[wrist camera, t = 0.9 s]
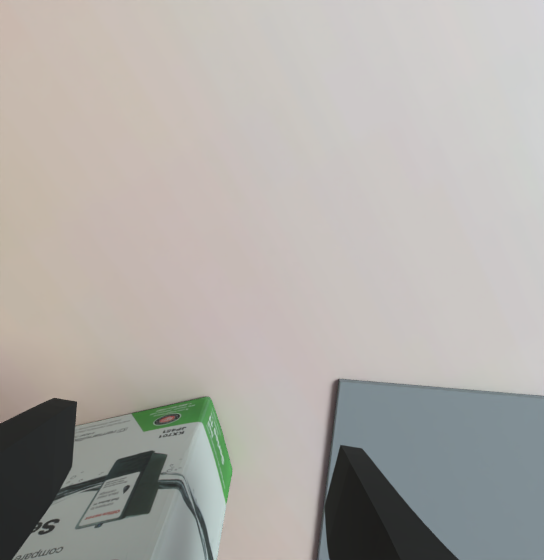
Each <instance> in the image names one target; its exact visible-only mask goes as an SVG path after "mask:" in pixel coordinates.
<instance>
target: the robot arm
mask: <svg viewBox="0 0 544 560" xmlns="http://www.w3.org/2000/svg"><path fill="white" fill-rule="evenodd" d="M76 408H77V402H75V401H69V400H63V399H57V398H53V399H51V400H48V401H46V402H44V403H42V404H39V405H37V406H35V407H33V408H31V409H29V410H27V411H25V412H23V413H21V414H19V415H17V416H15V417H13V418H11V419H9V420H7V421H5V422H3V423H1V424H0V560H12V559H13V558H14V556H15V555H16V554H17V552H18V551H19V549H20V548H21V547H22V545H23V544H24V543H25V541H26V540H27V538H28V537H29V536H30V534H31V533H32V531H33V530H34V528H35V527H36V526H37V524H38V523H39V521H40V520H41V519H42V517H43V516H44V514H45V513H46V511H47V510H48V509H49V507H50V506H51V504H52V503H53V501H54V499H55V497H56V495H57V494H58V492H59V490H60V488H61V487H62V485H63V483H64V481H65V479H66V477H67V476H68V474H69V472H70V470H71V468H72V463H73V449H74V435H75V422H76ZM324 507H325V524H326V538H327V548H328V554H329V560H459V559H458V558H457V557H456V556H455V555H454V554H453V553H452V552H451V551H450V550H449V549H448V548H447V547H446V546H445V545H444V544H443V543H442V542H441V541H440V540H439V539H438V538H437V537H436V535H435V534H434V533H433V532H432V531H431V530H430V529H429V528H428V527H427V526H426V525H425V524H424V523H423V521H422V520H421V519H420V518H419V517H418V516H417V515H416V513H415V512H414V511H413V510H412V509H411V508H410V506H409V505H408V504H407V503H406V502H405V501H404V499H403V498H402V497H401V496H400V495H399V493H398V492H397V491H396V490H395V488H394V487H393V486H392V485H391V483H390V482H389V481H388V480H387V478H386V477H385V476H384V475H383V473H382V472H381V471H380V470H379V468H378V467H377V466H376V465H375V463H374V462H373V461H372V460H371V458H370V457H369V456H368V455H367V453H366V452H365V451H364V450H363V449H362V448H357V447H351V446H345V445H340V448H339V452H338V456H337V460H336V464H335V468H334V471H333V475H332V479H331V483H330V487H329V491H328V495H327V499H326V502H325V506H324Z"/></svg>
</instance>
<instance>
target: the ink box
mask: <svg viewBox="0 0 544 560" xmlns="http://www.w3.org/2000/svg"><path fill="white" fill-rule="evenodd" d="M231 476H232V467H231V463H230V459H229V455H228V451H227V448H226V444H225V441H224V437H223V433H222V429H221V426H220V423H219V420H218V417H217V414H216V411H215V409H214V406H213V403H212V400H211V399H210V397H203V398H199V399H195V400H190V401H185V402H181V403H176V404H172V405H167V406H163V407H159V408H154V409H150V410H145V411H141V412H136V413H132V414H127V415H123V416H119V417H114V418H110V419H105V420H101V421H96V422H92V423H87V424H83V425H78V426H75V435H74V449H73V463H72V468H71V470H70V472H69V474H68V476H67V477H66V479H65V481H64V483H63V485H62V487H61V488H60V490H59V492H58V494H57V495H56V497H55V499H54V501H53V503H52V504H51V506H50V507H49V509H48V510H47V511H46V513H45V514H44V516H43V517H42V519H41V520H40V521H39V523H38V524H37V526H36V527H35V528H34V530H33V531H32V533H31V534H30V536H29V537H28V538H27V540H26V541H25V543H24V544H23V545H22V547H21V548H20V549H19V551H18V552H17V554H16V555H15V556H14V558H13V559H12V560H217V557H218V550H219V544H220V538H221V533H222V527H223V521H224V515H225V510H226V503H227V498H228V492H229V486H230V481H231Z"/></svg>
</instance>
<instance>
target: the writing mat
mask: <svg viewBox="0 0 544 560" xmlns="http://www.w3.org/2000/svg"><path fill="white" fill-rule="evenodd" d="M340 445H345V446H351V447H357V448H362V449H363V450H364V451H365V452H366V453H367V455H368V456H369V457H370V458H371V460H372V461H373V462H374V463H375V465H376V466H377V467H378V468H379V470H380V471H381V472H382V473H383V475H384V476H385V477H386V478H387V480H388V481H389V482H390V483H391V485H392V486H393V487H394V488H395V490H396V491H397V492H398V493H399V495H400V496H401V497H402V498H403V499H404V501H405V502H406V503H407V504H408V505H409V506H410V508H411V509H412V510H413V511H414V512H415V513H416V515H417V516H418V517H419V518H420V519H421V520H422V521H423V523H424V524H425V525H426V526H427V527H428V528H429V529H430V530H431V531H432V532H433V533H434V534H435V535H436V537H437V538H438V539H439V540H440V541H441V542H442V543H443V544H444V545H445V546H446V547H447V548H448V549H449V550H450V551H451V552H452V553H453V554H454V555H455V556H456V557H457V558H458V559H459V560H544V396H537V395H525V394H513V393H501V392H489V391H477V390H465V389H453V388H442V387H430V386H418V385H406V384H394V383H382V382H370V381H358V380H346V379H339V384H338V392H337V401H336V409H335V417H334V425H333V433H332V442H331V450H330V458H329V466H328V475H327V483H326V491H325V499H324V506H325V502H326V499H327V495H328V491H329V487H330V483H331V479H332V475H333V471H334V468H335V464H336V460H337V456H338V452H339V448H340ZM317 560H329V554H328V548H327V538H326V524H325V507H323V516H322V524H321V532H320V540H319V548H318V557H317Z"/></svg>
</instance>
